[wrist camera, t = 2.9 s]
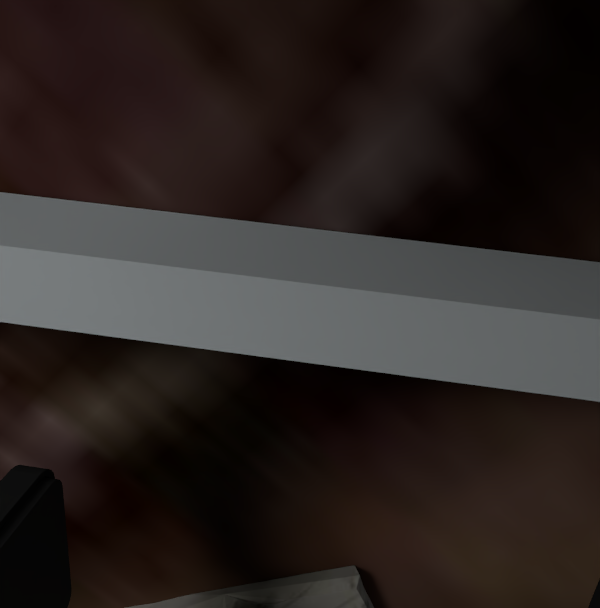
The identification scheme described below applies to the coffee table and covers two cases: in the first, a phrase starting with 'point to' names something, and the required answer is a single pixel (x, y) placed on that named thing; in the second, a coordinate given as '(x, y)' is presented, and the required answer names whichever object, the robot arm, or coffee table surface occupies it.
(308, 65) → the coffee table surface
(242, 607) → the packaged product
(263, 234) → the open frame
